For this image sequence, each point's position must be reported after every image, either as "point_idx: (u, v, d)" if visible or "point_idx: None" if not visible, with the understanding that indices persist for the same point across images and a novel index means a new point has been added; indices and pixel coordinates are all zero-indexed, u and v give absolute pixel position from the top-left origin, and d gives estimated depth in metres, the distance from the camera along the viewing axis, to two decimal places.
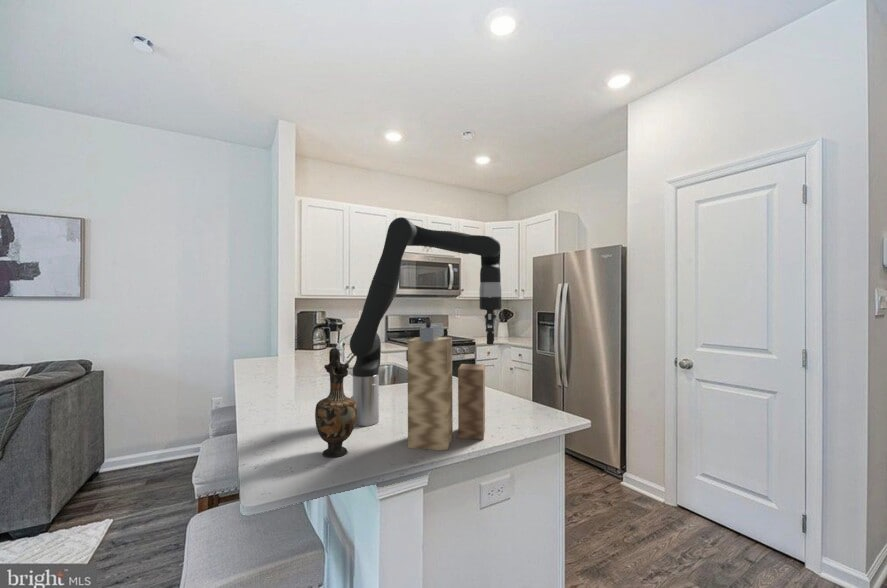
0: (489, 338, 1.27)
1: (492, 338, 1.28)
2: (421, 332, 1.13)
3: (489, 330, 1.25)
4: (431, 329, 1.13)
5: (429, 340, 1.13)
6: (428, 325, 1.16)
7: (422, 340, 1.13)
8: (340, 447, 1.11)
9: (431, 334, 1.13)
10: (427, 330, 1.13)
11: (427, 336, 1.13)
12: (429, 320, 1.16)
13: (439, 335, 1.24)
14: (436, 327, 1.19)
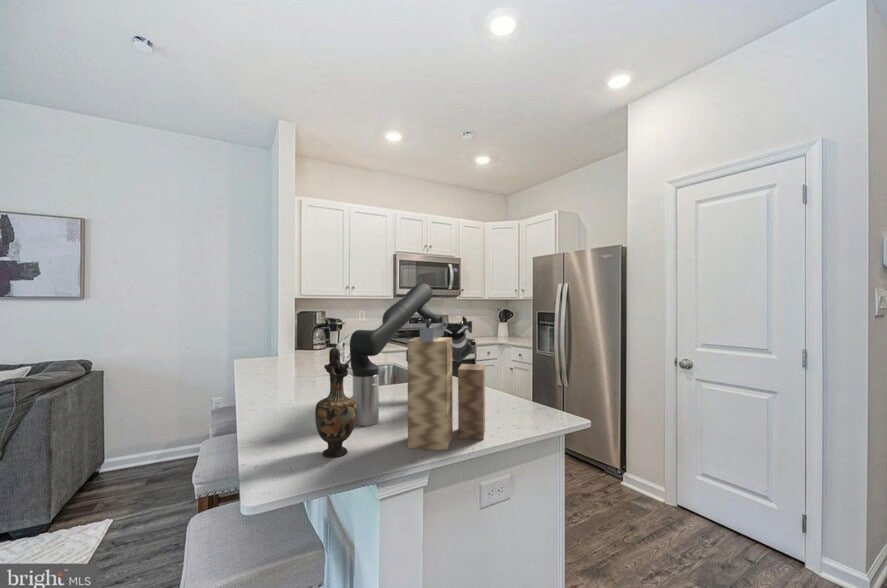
0: (466, 320, 1.47)
1: (464, 322, 1.47)
2: (421, 332, 1.13)
3: (471, 324, 1.49)
4: (431, 329, 1.13)
5: (429, 340, 1.13)
6: (428, 325, 1.16)
7: (422, 340, 1.13)
8: (340, 447, 1.11)
9: (431, 334, 1.13)
10: (427, 330, 1.13)
11: (427, 336, 1.13)
12: (429, 320, 1.16)
13: (439, 335, 1.24)
14: (436, 327, 1.19)
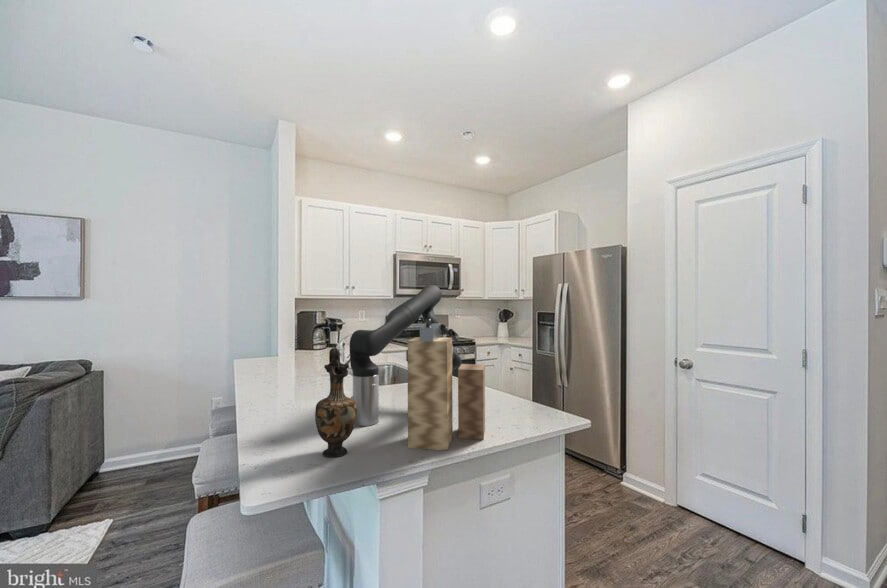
0: (445, 328, 1.29)
1: (443, 331, 1.29)
2: (421, 332, 1.13)
3: (451, 332, 1.31)
4: (431, 329, 1.13)
5: (429, 340, 1.13)
6: (428, 325, 1.16)
7: (422, 340, 1.13)
8: (340, 447, 1.11)
9: (431, 334, 1.13)
10: (427, 330, 1.13)
11: (427, 336, 1.13)
12: (429, 320, 1.16)
13: (439, 335, 1.24)
14: (436, 327, 1.19)
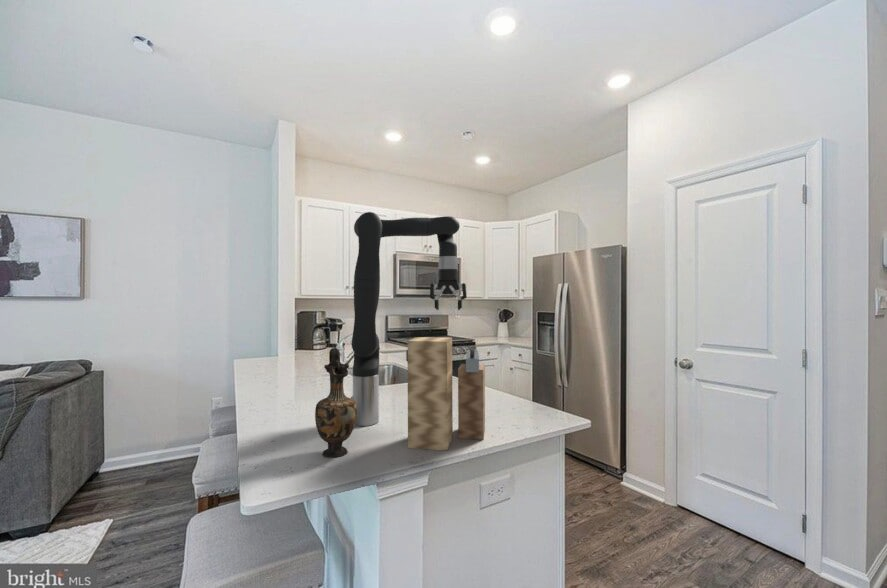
0: (461, 304, 1.50)
1: None
2: (467, 363, 1.18)
3: (465, 297, 1.50)
4: (477, 360, 1.18)
5: (475, 371, 1.18)
6: (472, 356, 1.20)
7: (468, 371, 1.18)
8: (340, 447, 1.11)
9: (477, 365, 1.18)
10: (473, 361, 1.18)
11: (473, 367, 1.18)
12: (473, 351, 1.21)
13: None
14: (478, 357, 1.24)
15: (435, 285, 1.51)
